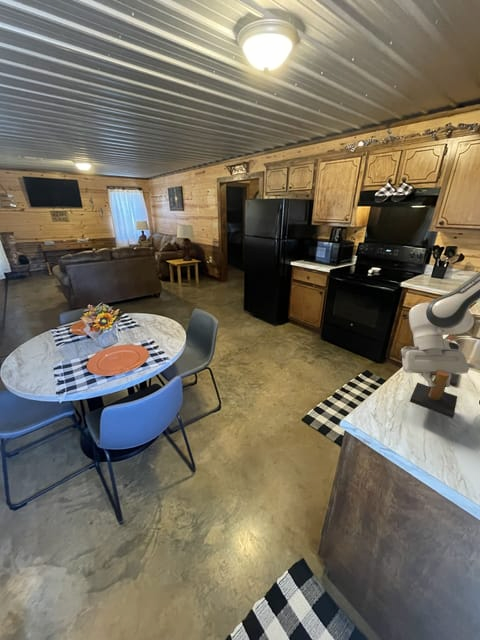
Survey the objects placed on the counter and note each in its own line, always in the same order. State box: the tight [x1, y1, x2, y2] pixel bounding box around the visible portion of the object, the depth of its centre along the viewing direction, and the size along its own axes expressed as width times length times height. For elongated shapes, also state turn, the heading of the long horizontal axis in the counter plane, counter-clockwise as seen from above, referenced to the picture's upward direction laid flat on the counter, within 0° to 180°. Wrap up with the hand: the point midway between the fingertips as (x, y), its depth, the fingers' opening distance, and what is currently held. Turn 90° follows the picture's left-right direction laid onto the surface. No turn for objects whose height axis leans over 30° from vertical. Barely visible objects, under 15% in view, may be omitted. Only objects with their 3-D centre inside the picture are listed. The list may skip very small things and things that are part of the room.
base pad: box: [420, 373, 459, 387], centre depth 116 cm, size 12×12×2 cm
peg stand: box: [409, 370, 458, 420], centre depth 90 cm, size 16×12×12 cm
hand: (439, 386), depth 88 cm, fingers closed on peg stand, 3 cm apart
